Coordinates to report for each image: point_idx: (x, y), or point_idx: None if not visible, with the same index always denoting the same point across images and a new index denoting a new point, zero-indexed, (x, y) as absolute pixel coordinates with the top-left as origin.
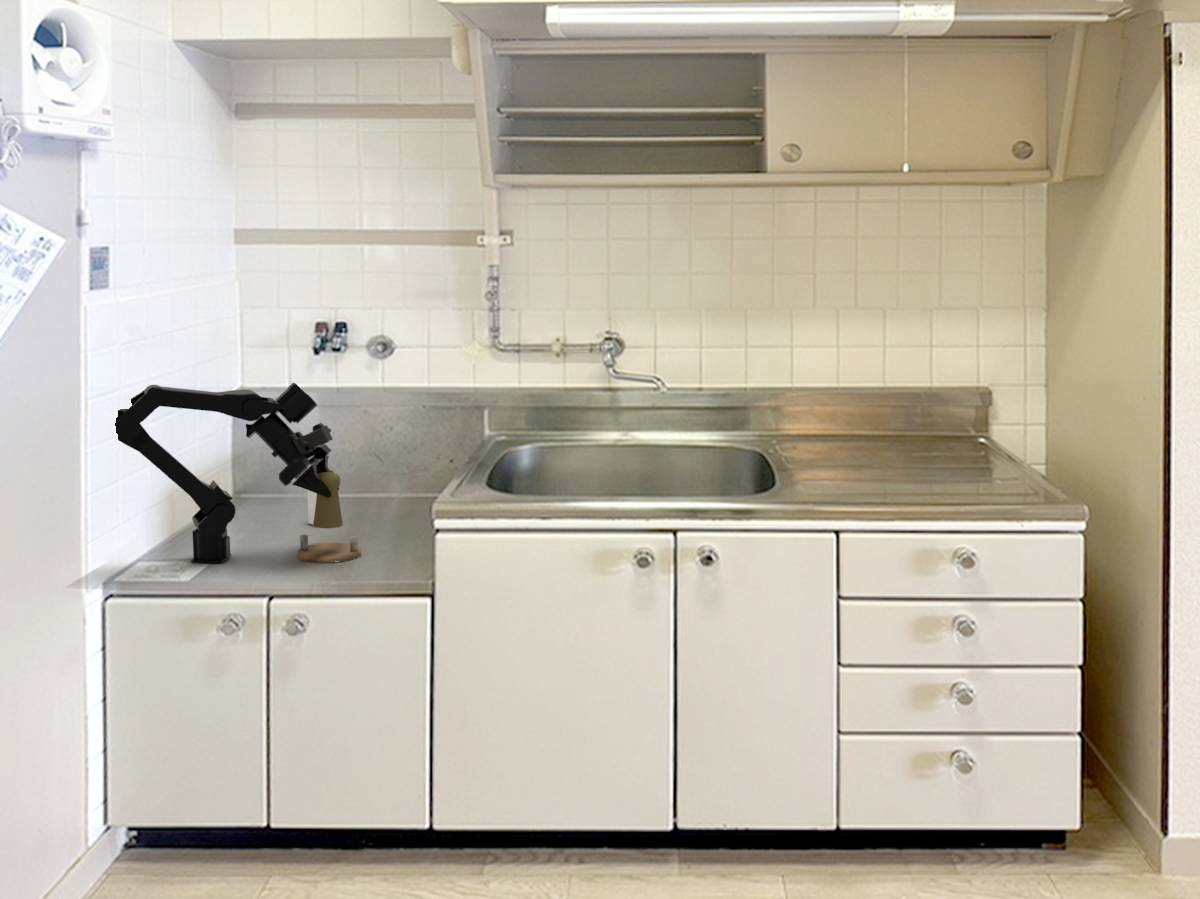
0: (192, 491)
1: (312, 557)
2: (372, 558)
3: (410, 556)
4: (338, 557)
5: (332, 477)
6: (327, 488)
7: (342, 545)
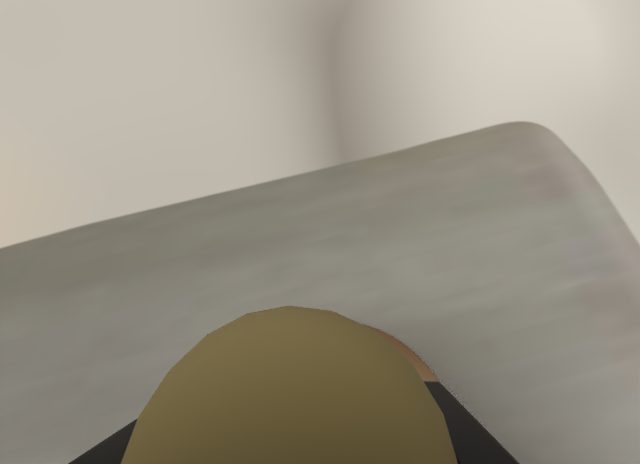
0: None
1: None
2: (361, 281)
3: (326, 196)
4: (432, 373)
5: (390, 358)
6: (457, 419)
7: None
